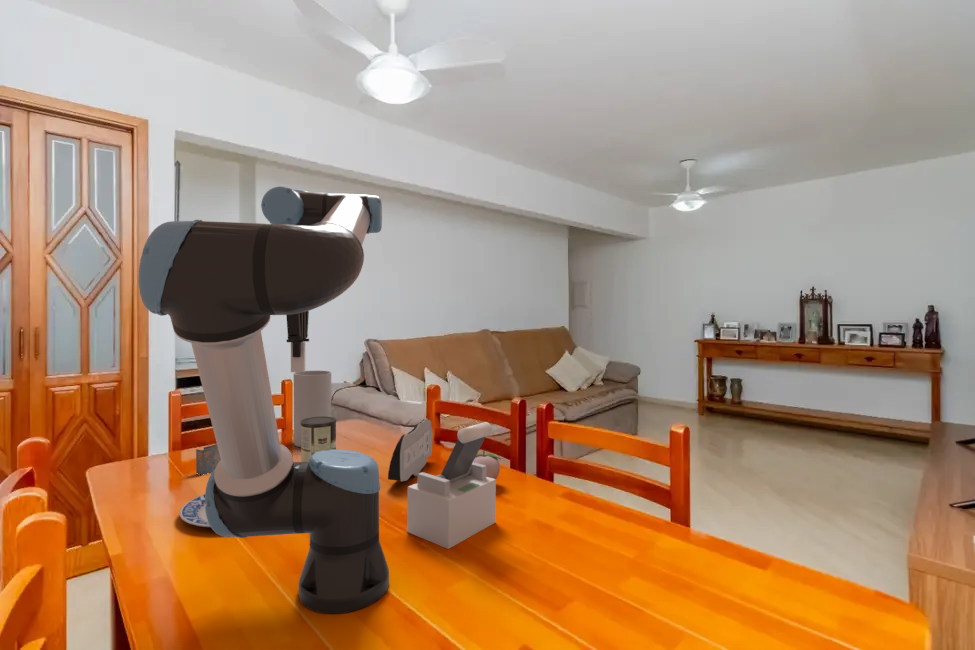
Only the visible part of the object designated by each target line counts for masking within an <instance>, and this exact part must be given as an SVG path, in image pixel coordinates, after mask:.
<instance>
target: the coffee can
mask: <svg viewBox="0 0 975 650" xmlns="http://www.w3.org/2000/svg"><path fill="white" fill-rule="evenodd" d="M336 427H337V418H336V417H333V416H331V417H326V416H320V417H311V418H306V419H303V420H301V447H300V450H301V451H300V453H301V454H300V456H301V457H300V458H301V459H300V462H309V459H310V457H311V456H312V455H313V454H314V453H316V452H319V451H323V450H324V451H328V450H332V449H337V428H336Z"/></svg>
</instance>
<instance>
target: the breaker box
mask: <svg viewBox="0 0 975 650" xmlns="http://www.w3.org/2000/svg"><path fill="white" fill-rule="evenodd" d="M486 468H487V466H486V465H482V464H478V463H475V462H473V463H472V465H471V469H472V474H471V475H470V476H467V477H465V478H462V479H460V480H457V481H455V482H452V483H450V480H447V479H444V478H440V477H437V476H439V475H441V473H440V474H437V475H433V474H431V473H426V472H424V471H423V472H421V471H420V472H419V473H418V475H417V476H416V477H417V480H416V482H417V483H414V484H411V485H409V486H407V495H406V496H407V511H406V512H407V515H406V517H407V518H406V519H407V520H406V522H407V523H406V525H407V526H406V533H409V534H411V535H414V536H417V537H419V538H420V539H423V540H425V541H429V542H430V543H433V544H434V545H435V544H436V545H438V546H440V547H442V548H445V549H447V550H448V549H451V548H452V547H455V546H456V545H458V544H460V543H462V542H463V541H465V540H467V539H468V538H470V537H472V536H474V535H476V534H477V533H479V532H481V531H483V530H485V529H486V528H488V527H490V526H492V525H493V524H495V523H496V506H497V505H496V504H497V503H496V502H497V501H496V499H497V498H496V497H497V496H496V495H497V493H496V492H497V488H496V487H497V478H496V479H493V478H489V477H486Z"/></svg>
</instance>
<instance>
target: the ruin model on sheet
mask: <svg viewBox="0 0 975 650" xmlns="http://www.w3.org/2000/svg"><path fill="white" fill-rule="evenodd" d="M195 452H196V453H195V456H196V457H195V458H196V460H195V465H196V466H195V467H196V470H195V471H196V472H195V473H198V474H201V475H203V474H206V475H208V474H207V473H209V474H211V472H213V471H214V470H215V469H216V466H217V465H218V463H219V462H220V460H221V458H220V454H219V450H218V446H217V443H216V444H212V445H208V446H204V447H203V449H198V448H196V449H195ZM201 475H200V476H201ZM203 476H204V475H203Z"/></svg>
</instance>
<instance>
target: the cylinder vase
mask: <svg viewBox="0 0 975 650" xmlns="http://www.w3.org/2000/svg"><path fill="white" fill-rule="evenodd" d="M320 416H326V417H332V371H330V370H305V372H293V445H294V446H295V447H298V448H301V420H303V419H306V418H311V417H320Z"/></svg>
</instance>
